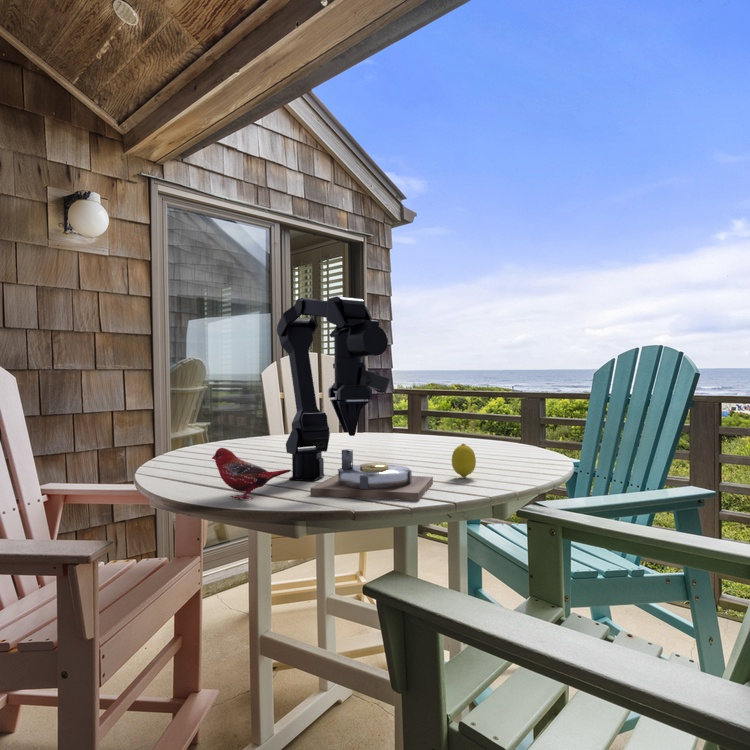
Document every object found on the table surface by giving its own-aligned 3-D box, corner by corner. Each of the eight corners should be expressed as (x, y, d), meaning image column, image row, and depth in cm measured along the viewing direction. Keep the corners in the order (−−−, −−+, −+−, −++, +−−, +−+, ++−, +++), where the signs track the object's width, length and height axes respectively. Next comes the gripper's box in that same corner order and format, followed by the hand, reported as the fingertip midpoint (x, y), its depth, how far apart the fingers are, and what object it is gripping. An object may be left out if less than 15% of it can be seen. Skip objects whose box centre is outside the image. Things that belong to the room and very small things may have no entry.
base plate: (310, 495, 102) (310, 488, 102) (339, 479, 118) (338, 473, 118) (418, 500, 96) (418, 493, 96) (432, 483, 112) (432, 476, 113)
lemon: (474, 475, 121) (474, 442, 121) (477, 480, 116) (476, 445, 116) (451, 475, 122) (450, 442, 122) (452, 480, 116) (452, 445, 116)
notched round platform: (417, 476, 113) (417, 446, 113) (402, 490, 98) (402, 457, 98) (351, 473, 117) (350, 445, 117) (326, 487, 102) (326, 455, 102)
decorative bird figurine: (216, 495, 103) (215, 446, 103) (295, 501, 97) (294, 448, 98) (207, 499, 100) (207, 448, 100) (288, 504, 95) (287, 450, 95)
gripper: (397, 355, 97) (398, 437, 97) (376, 360, 116) (377, 428, 115) (340, 355, 95) (341, 439, 95) (327, 360, 113) (328, 430, 113)
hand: (349, 434), depth 105 cm, fingers open, 7 cm apart
